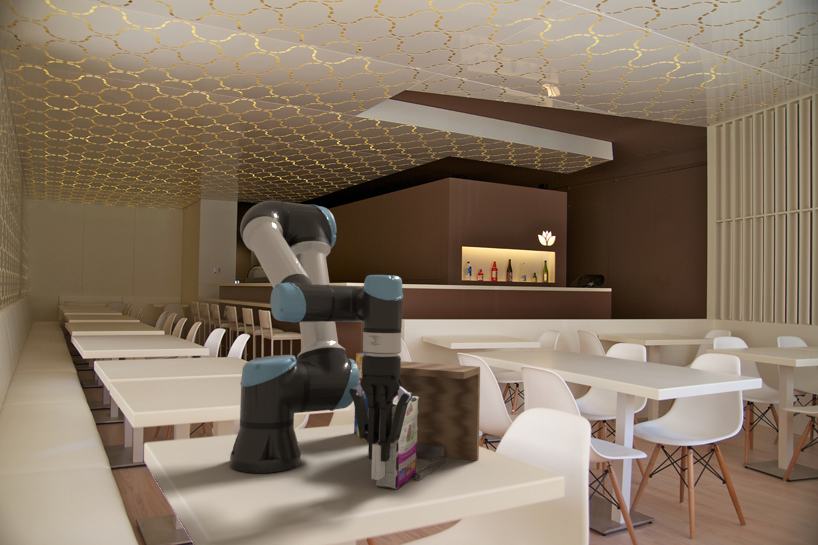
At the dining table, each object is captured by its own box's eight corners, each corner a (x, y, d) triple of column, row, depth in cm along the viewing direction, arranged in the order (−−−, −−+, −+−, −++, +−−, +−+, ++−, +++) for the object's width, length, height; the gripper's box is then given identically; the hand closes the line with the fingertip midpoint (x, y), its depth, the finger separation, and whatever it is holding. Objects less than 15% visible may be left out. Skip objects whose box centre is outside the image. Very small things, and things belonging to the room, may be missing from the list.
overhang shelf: (352, 469, 123) (355, 369, 124) (393, 447, 142) (395, 360, 143) (448, 484, 114) (450, 376, 115) (478, 459, 133) (480, 366, 134)
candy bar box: (394, 471, 122) (398, 393, 122) (416, 474, 120) (420, 396, 121) (373, 486, 111) (377, 401, 112) (396, 490, 109) (400, 404, 110)
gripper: (342, 353, 110) (338, 477, 109) (404, 357, 105) (400, 488, 103) (361, 351, 117) (358, 467, 116) (420, 354, 112) (417, 477, 110)
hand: (378, 477), depth 110 cm, fingers closed
